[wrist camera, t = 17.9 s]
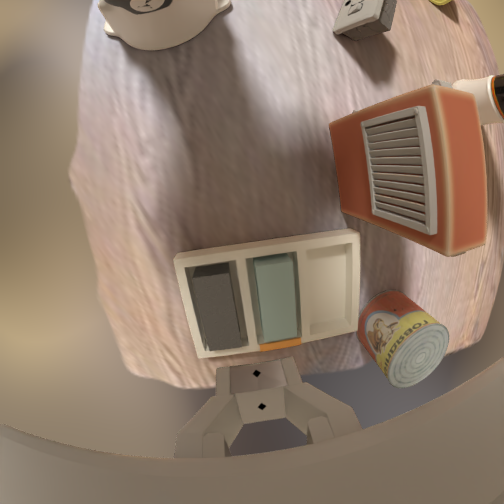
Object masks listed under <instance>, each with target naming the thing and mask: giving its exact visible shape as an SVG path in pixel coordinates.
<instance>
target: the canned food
mask: <svg viewBox="0 0 504 504" xmlns="http://www.w3.org/2000/svg"><path fill="white" fill-rule="evenodd" d="M356 335H357V337H358V339H359V341H360V342H361V343H362V344H363V345H364V347H365V348H366V349H367V351H368V352H369V353H370V355H371V356H372V358H373V359H374V360H375V362H376V363H377V364H378V366H379V367H380V369H381V370H382V371H383V373H384V374H385V376H386V377H387V378H388V380H389V382H390V384H391V385H392V386H394V387H396V388H405V387H409V386H412V385H415V384H417V383H418V382H420V381H422V380H423V379H424V378H426V377H427V376H428V375H429V374H430V373H431V372H432V371H433V370H434V369H435V368H436V367H437V366H438V364H439V363H440V361H441V360H442V358H443V357H444V355H445V352H446V350H447V347H448V343H449V333H448V330H447V328H446V327H445V326H444V325H442V324H440V323H439V322H438V321H437V320H435V319H434V318H433V317H432V316H430V315H429V314H428V313H427V312H426V311H424V310H423V309H422V308H421V307H419V306H418V305H417V304H415V303H414V302H413V301H412V300H410V299H409V298H408V297H407V296H406V295H405V294H404V293H402V292H400V291H397V290H388V291H385V292H382V293H380V294H378V295H376V296H375V297H374V298H372V299H371V300H370V301H369V302H368V303H367V304H366V305H365V307H364V308H363V309H362V311H361V313H360V315H359V317H358V330H357V331H356Z"/></svg>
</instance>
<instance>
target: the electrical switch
mask: <svg viewBox="0 0 504 504" xmlns="http://www.w3.org/2000/svg"><path fill="white" fill-rule="evenodd" d="M393 2H394V3H393ZM396 3H397V0H344V2H343V5H342V7H341V10H340V12H339V15H338V17H337V20H336V23H335V25H334V28H333V32H335V33H336V34H341V33H343V34H344V35H346V36H348V37H350V38H351V39H352V40H354V41H357V40H360V39H363V38H366V37H369V36H372V35H376V34H379V33H383V32H386V31H390V30H391V26H392V21H393V17H394V12H395V8H396ZM387 4H388V5H387Z"/></svg>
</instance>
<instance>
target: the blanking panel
mask: <svg viewBox="0 0 504 504" xmlns="http://www.w3.org/2000/svg"><path fill="white" fill-rule="evenodd" d="M253 264H254V272H255V280H256V288H257V296H258V304H259V312H260V320H261V328H262V332H263V337H264V341H265V342H268V341H274V340H280V339H286V338H292V337H297V324H296V306H295V290H294V275H293V261H292V260H291V259H290V257H289V256H288V254H287V253H280V254H273V255H267V256H260V257H253Z"/></svg>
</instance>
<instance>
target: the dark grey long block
mask: <svg viewBox="0 0 504 504" xmlns="http://www.w3.org/2000/svg"><path fill="white" fill-rule="evenodd" d="M192 280H193V285H194V289H195V294H196V298H197V302H198V307H199V311H200V315H201V319H202V324H203V328H204V332H205V336H206V340H207V343H208V347H209V351H217V350H225V349H233V348H240V347H242V342H241V332H240V326H239V321H238V315H237V309H236V303H235V297H234V291H233V286H232V279H231V273H230V267H229V262H228V263H222V264H215V265H208V266H201V267H196V268H195V271H194V274H193V277H192Z"/></svg>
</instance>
